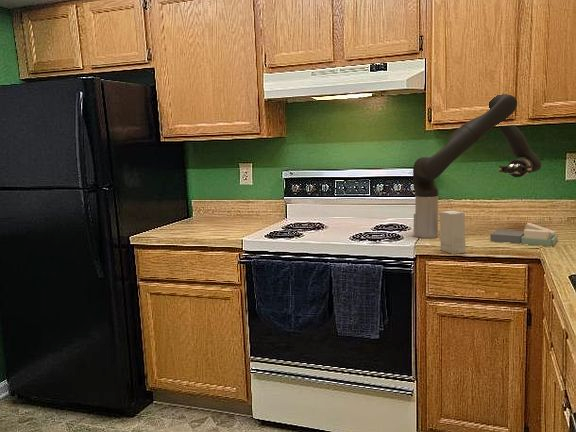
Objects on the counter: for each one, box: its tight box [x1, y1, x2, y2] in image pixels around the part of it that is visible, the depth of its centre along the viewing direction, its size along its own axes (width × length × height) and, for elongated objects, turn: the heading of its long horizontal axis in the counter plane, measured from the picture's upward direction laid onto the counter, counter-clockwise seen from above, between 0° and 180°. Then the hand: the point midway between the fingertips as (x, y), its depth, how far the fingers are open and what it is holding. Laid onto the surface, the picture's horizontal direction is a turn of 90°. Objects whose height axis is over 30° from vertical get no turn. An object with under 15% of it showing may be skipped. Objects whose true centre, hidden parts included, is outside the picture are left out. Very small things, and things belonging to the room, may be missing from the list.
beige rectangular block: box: [522, 222, 556, 240], centre depth 203 cm, size 4×4×10 cm
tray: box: [520, 233, 559, 248], centre depth 202 cm, size 11×13×2 cm
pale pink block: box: [523, 229, 550, 240], centre depth 199 cm, size 5×4×8 cm
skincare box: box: [439, 210, 467, 255], centre depth 191 cm, size 8×6×15 cm
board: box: [489, 229, 524, 244], centre depth 208 cm, size 11×11×3 cm
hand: (509, 170), depth 205 cm, fingers closed
